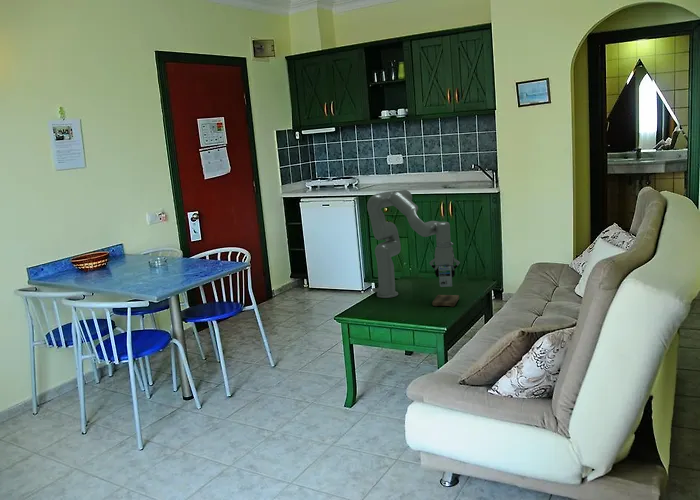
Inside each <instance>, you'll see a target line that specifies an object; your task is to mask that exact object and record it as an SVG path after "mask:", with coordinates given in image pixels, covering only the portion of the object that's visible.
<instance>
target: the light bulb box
mask: <svg viewBox="0 0 700 500" xmlns="http://www.w3.org/2000/svg"><path fill="white" fill-rule="evenodd" d="M438 270H439V276H438V281H439V287H441V288H444V287H447V288H449V287H453V277H452V272H451V270H452V268H451V266H438Z"/></svg>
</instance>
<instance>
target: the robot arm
mask: <svg viewBox="0 0 700 500" xmlns="http://www.w3.org/2000/svg"><path fill="white" fill-rule="evenodd" d="M392 206H393V207H395V208H396V209H397V210H398V211H399V212H400V213H401V214H403V216H405V217H406V219H407V222H408V225H409V227H410V228H411V229H412V230H413V231H414V232H415V233H417V234H418V235H419V236H421V237H423V238H427V237H430V236H434V235H436V237H435V239H436V241H435V242H436V247H435V248H434V249H435V250H434V258H433V259H432V260H430V262H429V265H430V266H431V268H432V269H433V270H434V271H435V273H434V274H435V277H436V278H439V270H438V266H451V272H452V278H454V277H455V275H456V269H457V268H458V266H459V265H460V264H461V262H460V261H459V260H458V259H457V258H455V255H454V253H455V252H454V248H453V246H454V242H452V241H451V240H452V239H451V225H450V222H448V221H437V220H430V221H425V222H424V221H423V220H422V219H421V218H419V216H418V214H417V212H418V210H419V206H418V205H417V204H416V203H414V202H413V194H412V193H411V192H410V191H409V190H407V189H400V190H392V191H391V190H390V191H384V192H379V193H376V194H373V195H372V196H370V197H369V199H368V200H367V202H366V208H367V212H368V216H369V219H370V224H371V225H370V226H371V229H372V233H373V236H374V238H375V240H377V241H383V240H385V241H383V242H380V243H378V244H376V247H375V248H374V254H375V255H374V256H375V258H376V263H377V264H376V266H377V279H378V280H377V281H378V287H377V288H376V287H374V288H373V287H372V290H371V291H372V292H373V293H376V297H377V298H382V299H389V298H390V299H391V298H396V297H397V296H399V292H398V291H396V280H395V278H396V277H395V265H394V262H393V259H392V257H395V256H398V255H399V254H400V252H401V249H402V244H401V239H400V236H399V230H398V228H397V226H396V224H395V223H394V222H392V221H386V216H385V213H384V212H383V210H382V209H383V208H387V207H392ZM455 263H456V264H455ZM454 264H455V265H454Z"/></svg>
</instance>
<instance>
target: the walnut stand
mask: <svg viewBox="0 0 700 500" xmlns="http://www.w3.org/2000/svg"><path fill="white" fill-rule="evenodd" d="M459 300H460V295H459V294H454V295H453V294H437V296H435V298H434V299H433V301H432V303H431V305H432V306H433V307H438V306H439V307H440V306H441V307H442V306H443V307H446V306H447V307H450V308H451V307H452V308H455V306H456V305H457V303H458V301H459Z"/></svg>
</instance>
